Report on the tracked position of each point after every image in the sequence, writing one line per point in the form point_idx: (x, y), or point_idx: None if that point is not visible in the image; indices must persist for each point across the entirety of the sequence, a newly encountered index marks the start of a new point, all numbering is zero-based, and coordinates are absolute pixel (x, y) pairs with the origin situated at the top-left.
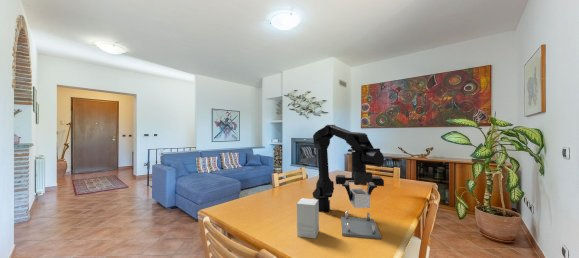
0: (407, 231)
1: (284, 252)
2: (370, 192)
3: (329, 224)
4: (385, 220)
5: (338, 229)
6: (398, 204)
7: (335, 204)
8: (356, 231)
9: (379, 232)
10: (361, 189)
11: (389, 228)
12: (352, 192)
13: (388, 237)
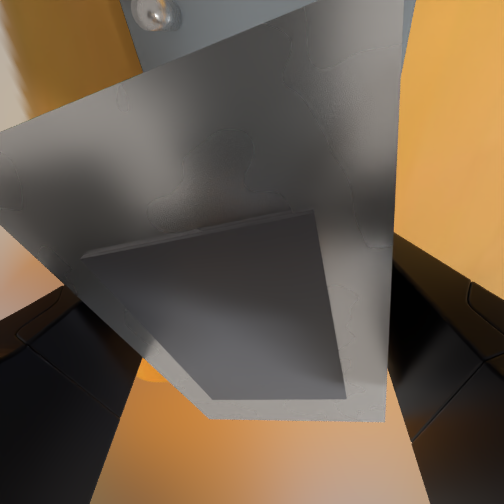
0: None
1: None
2: (32, 309)
3: (468, 137)
4: None
5: (422, 62)
6: (145, 369)
7: None
8: (294, 8)
9: (138, 57)
10: (214, 399)
11: None
12: (389, 278)
13: (90, 36)
